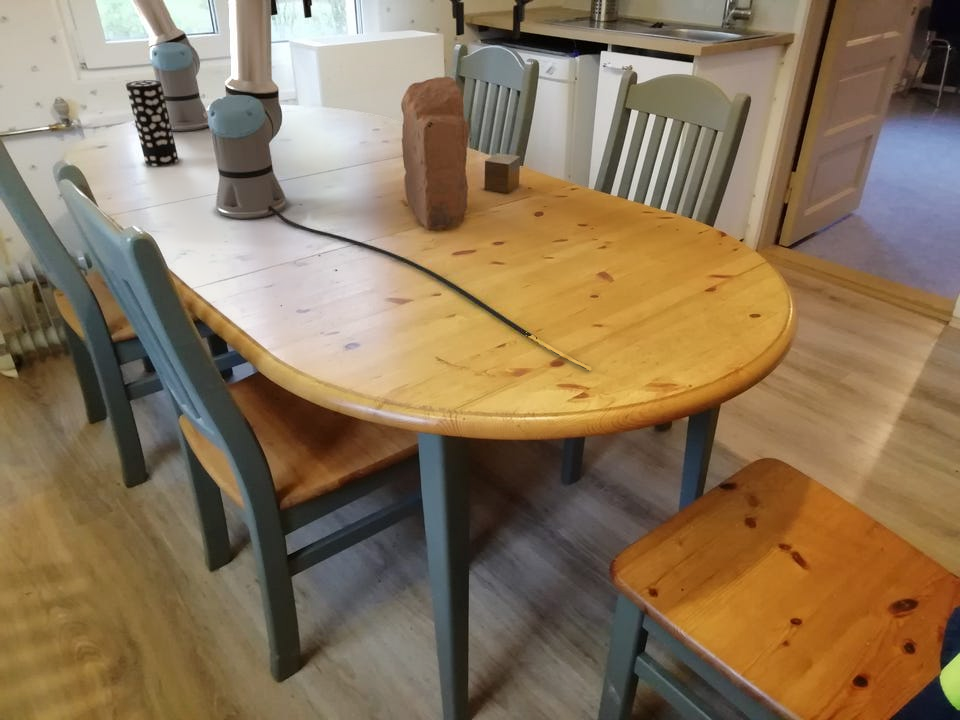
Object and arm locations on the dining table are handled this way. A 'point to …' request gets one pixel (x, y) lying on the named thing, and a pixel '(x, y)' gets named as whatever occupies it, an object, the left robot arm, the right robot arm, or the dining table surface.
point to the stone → (435, 152)
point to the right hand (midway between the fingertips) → (487, 36)
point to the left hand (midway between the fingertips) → (291, 16)
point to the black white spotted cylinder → (152, 122)
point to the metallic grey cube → (502, 173)
